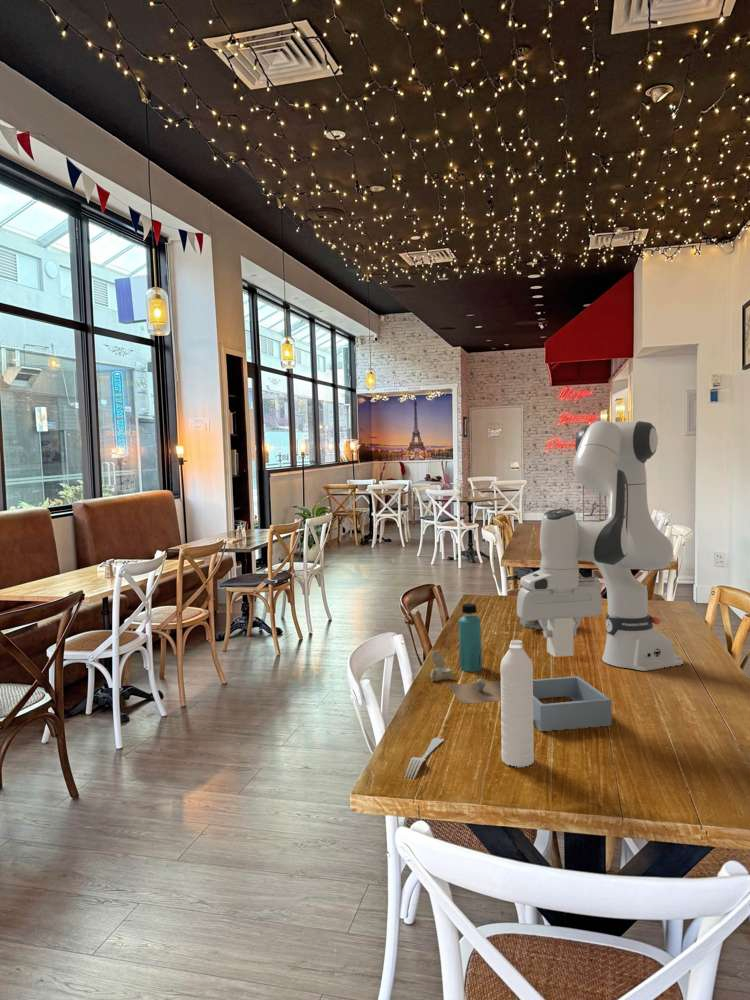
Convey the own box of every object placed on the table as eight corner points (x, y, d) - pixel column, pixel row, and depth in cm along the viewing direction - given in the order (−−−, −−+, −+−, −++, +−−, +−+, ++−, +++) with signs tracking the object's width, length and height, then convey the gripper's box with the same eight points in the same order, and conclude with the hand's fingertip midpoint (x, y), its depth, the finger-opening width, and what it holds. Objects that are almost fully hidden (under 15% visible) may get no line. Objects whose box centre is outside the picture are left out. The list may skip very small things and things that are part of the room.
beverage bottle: (481, 677, 190) (480, 607, 189) (458, 676, 192) (456, 606, 190) (482, 670, 197) (481, 602, 195) (459, 669, 198) (458, 601, 196)
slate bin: (578, 699, 172) (578, 676, 172) (611, 725, 155) (611, 699, 155) (513, 704, 169) (513, 681, 169) (540, 732, 153) (540, 705, 152)
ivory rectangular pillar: (564, 650, 164) (565, 613, 163) (573, 655, 159) (573, 617, 159) (546, 651, 163) (546, 614, 163) (554, 656, 159) (554, 619, 158)
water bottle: (502, 752, 143) (500, 635, 141) (534, 755, 141) (532, 636, 139) (500, 771, 134) (498, 647, 133) (533, 774, 133) (532, 649, 131)
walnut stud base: (498, 686, 183) (497, 668, 182) (516, 705, 169) (516, 685, 169) (447, 690, 181) (447, 672, 180) (462, 709, 167) (461, 690, 167)
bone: (452, 684, 180) (434, 650, 183) (432, 694, 183) (415, 660, 185) (462, 677, 188) (445, 644, 190) (444, 686, 191) (427, 654, 193)
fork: (446, 750, 150) (446, 738, 151) (414, 783, 131) (415, 768, 131) (434, 748, 152) (434, 736, 152) (401, 780, 132) (401, 766, 133)
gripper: (594, 574, 165) (594, 630, 166) (513, 578, 162) (514, 635, 163) (607, 578, 159) (607, 636, 159) (523, 583, 155) (524, 642, 156)
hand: (559, 636), depth 161 cm, fingers closed on ivory rectangular pillar, 5 cm apart
